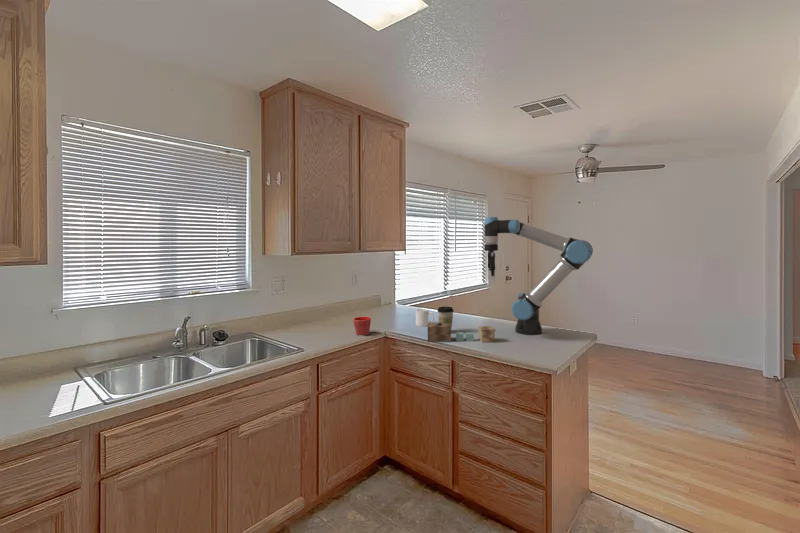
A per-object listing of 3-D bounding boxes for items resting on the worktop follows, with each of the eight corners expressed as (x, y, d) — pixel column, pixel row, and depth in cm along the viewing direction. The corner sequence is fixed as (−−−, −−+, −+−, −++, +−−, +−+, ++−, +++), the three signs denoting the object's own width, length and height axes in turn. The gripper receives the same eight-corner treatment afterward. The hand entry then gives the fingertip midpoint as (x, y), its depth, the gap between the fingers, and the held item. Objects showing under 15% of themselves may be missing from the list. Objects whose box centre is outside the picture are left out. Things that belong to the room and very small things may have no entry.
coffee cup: (453, 334, 225) (453, 309, 224) (436, 334, 227) (436, 309, 226) (454, 330, 235) (454, 306, 234) (438, 330, 237) (438, 306, 236)
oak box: (491, 338, 215) (491, 326, 214) (495, 342, 207) (495, 329, 207) (478, 338, 215) (478, 326, 214) (481, 342, 207) (481, 329, 207)
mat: (449, 337, 218) (449, 337, 218) (449, 342, 210) (449, 341, 210) (430, 337, 220) (430, 336, 220) (429, 341, 211) (429, 341, 211)
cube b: (463, 339, 215) (463, 332, 215) (463, 341, 211) (463, 334, 211) (456, 339, 215) (455, 332, 215) (456, 341, 212) (455, 334, 211)
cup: (417, 323, 257) (417, 308, 256) (435, 324, 253) (434, 309, 252) (414, 326, 249) (414, 311, 248) (432, 327, 245) (432, 311, 244)
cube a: (473, 339, 214) (473, 332, 214) (473, 341, 210) (473, 334, 210) (466, 339, 215) (466, 332, 214) (466, 341, 211) (466, 334, 210)
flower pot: (354, 337, 225) (354, 320, 225) (353, 332, 236) (352, 317, 235) (372, 335, 227) (372, 319, 227) (370, 331, 238) (369, 316, 237)
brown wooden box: (450, 337, 218) (450, 321, 217) (450, 341, 210) (450, 324, 209) (428, 337, 220) (428, 321, 219) (427, 340, 212) (427, 324, 211)
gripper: (483, 243, 234) (483, 278, 236) (486, 244, 210) (486, 282, 211) (495, 243, 233) (495, 277, 235) (500, 244, 208) (500, 282, 210)
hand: (491, 280), depth 223 cm, fingers open, 13 cm apart
